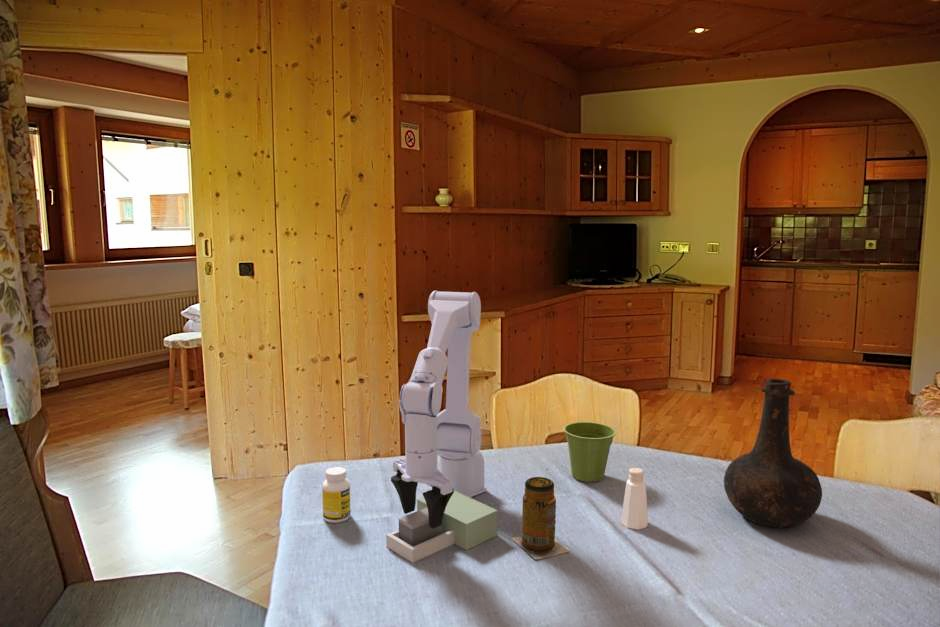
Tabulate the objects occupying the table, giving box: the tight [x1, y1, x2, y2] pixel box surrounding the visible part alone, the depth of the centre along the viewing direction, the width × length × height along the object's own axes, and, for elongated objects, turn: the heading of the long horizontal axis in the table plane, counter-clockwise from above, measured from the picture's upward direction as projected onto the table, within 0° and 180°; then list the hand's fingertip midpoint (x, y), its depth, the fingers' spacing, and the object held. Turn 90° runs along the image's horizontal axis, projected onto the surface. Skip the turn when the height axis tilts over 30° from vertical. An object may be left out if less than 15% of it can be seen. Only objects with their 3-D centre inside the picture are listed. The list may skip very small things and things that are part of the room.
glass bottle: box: [723, 378, 823, 528], centre depth 131 cm, size 18×18×28 cm
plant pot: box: [562, 421, 617, 483], centre depth 152 cm, size 12×12×11 cm
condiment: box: [511, 476, 570, 560], centre depth 121 cm, size 7×8×12 cm
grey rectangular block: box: [398, 508, 443, 547], centre depth 122 cm, size 7×4×5 cm, turn 133°
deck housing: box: [385, 491, 498, 564], centre depth 124 cm, size 18×14×5 cm
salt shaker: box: [620, 467, 649, 530], centre depth 130 cm, size 5×5×11 cm
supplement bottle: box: [321, 466, 351, 524], centre depth 132 cm, size 5×5×10 cm
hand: (422, 518), depth 121 cm, fingers open, 7 cm apart
